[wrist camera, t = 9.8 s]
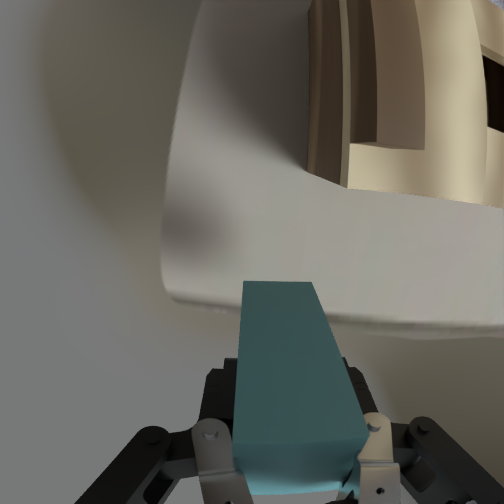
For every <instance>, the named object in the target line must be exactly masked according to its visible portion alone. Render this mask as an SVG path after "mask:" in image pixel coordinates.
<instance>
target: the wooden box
mask: <svg viewBox="0 0 504 504" xmlns="http://www.w3.org/2000/svg"><path fill="white" fill-rule="evenodd" d="M308 28H309V130H308V160H307V172H308V173H311V174H313V175H316V176H318V177H321V178H323V179H326V180H328V181H331V182H333V183H336V184H338V185H340V176H341V157H342V129H343V64H342V38H341V21H340V7H339V0H313V1H312V3H311V6H310V8H309V11H308ZM482 60H483V68H484V77H485V87H486V102H487V127H490V128H492V129H495V130H497V131H500V132H502V133H504V66H503V65H501V64H499V63H497V62H495V61H494V60H492V59H490V58H488V57H486V56H484V55H482Z"/></svg>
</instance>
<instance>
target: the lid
mask: <svg viewBox="0 0 504 504" xmlns="http://www.w3.org/2000/svg"><path fill="white" fill-rule="evenodd" d="M339 7H340V21H341V38H342V64H343V129H342V157H341V176H340V186H343V187H345V188H348V189H360V190H372V191H382V192H392V193H402V194H411V195H419V196H427V197H435V198H442V199H449V200H456V201H462V202H469V203H475V204H481V205H487V206H492V207H498V208H503V209H504V133H502V132H500V131H497V130H495V129H492V128H490V127H487V102H486V87H485V77H484V68H483V60H482V55H484V56H486V57H488V58H490V59H492V60H494V61H495V62H497V63H499V64H501V65H503V66H504V10H503V9H501V8H500V7H498V6H496V5H495V4H493V3H492V2H490V1H489V0H339Z"/></svg>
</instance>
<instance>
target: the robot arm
mask: <svg viewBox="0 0 504 504" xmlns="http://www.w3.org/2000/svg"><path fill="white" fill-rule="evenodd" d="M342 359H343V362H344V364H345V367H346V370H347V372H348V375H349V378H350V380H351V383H352V386H353V388H354V391H355V394H356V397H357V399H358V402H359V405H360V408H361V411H362V413H363V416H364V419H365V422H366V425H367V428H368V430H369V433H370V436H369V438H368V440H367V442H366V444H365V446H364V448H363V449H361V450H357V452H356V454H355V456H354V462H353V467H352V469H351V471H350V472H349V474H348V476H343V477H342V479H341V480H340V484H339V491H338V495H337V497H336V500H335V501H331V502H329V503H326V504H401V487H400V483H401V484H402V485H403V486H404V487H405V489H406V490H407V491H408V492H409V493H410V495H411V496H412V497H413V498H414V499H415V500H416V502H417V503H418V504H504V488H503V487H502V486H501V485H500V484H499V483H498V482H497V481H496V480H495V479H494V478H493V477H492V476H491V475H490V474H489V473H488V472H487V471H486V470H485V469H484V468H483V467H482V466H481V465H479V464H478V463H477V462H476V461H475V460H474V459H473V458H472V457H471V456H470V455H469V454H468V453H467V452H466V451H465V450H464V449H463V448H462V447H461V446H460V445H459V444H458V443H457V442H456V441H454V440H453V439H452V438H451V437H450V436H449V435H448V434H447V433H446V432H445V431H444V430H443V429H442V428H441V427H440V426H439V425H438V424H437V423H436V422H435V421H434V420H432V419H430V418H428V417H416V418H415V419H413V420H412V421H411V422H410V424H398V423H392V422H390V421H389V419H388V418H387V417H386V416H384V415H383V414H380V413H379V412H378V410H377V408H376V405H375V403H374V400H373V398H372V395H371V393H370V391H369V390H368V386H367V383H366V381H365V379H364V376H363V374H362V373H361V372H360V371H359V370H358V369H357V368H356V367H349V366H348V364H347V361H346V359H345V357H342ZM237 363H238V358H225V360H224V367H223V368H224V369H214V368H213V369H212V370H211V371H210V373H209V374H208V375H207V376H206V382H205V387H204V393H203V398H202V403H201V409H200V414H199V419H198V421H197V423H196V424H195V425H194V426H193V427H192V428H190V429H188V430H186V431H182V432H174V433H168V431H166V430H165V429H164V428H162V427H158V426H148V427H145V428H142V429H141V430H140V431H138V432H137V434H136V435H135V436H134V437H133V438H132V439H131V441H130V442H129V443H128V444H127V445H126V446H125V447H124V449H123V450H122V451H121V452H120V453H119V454H118V456H117V457H116V458H115V459H114V460H113V461H112V462H111V464H110V465H109V466H108V467H107V468H106V469H105V470H104V471H103V472H102V474H101V475H100V476H99V477H98V478H97V479H96V480H95V481H94V483H93V484H92V485H91V486H90V487H89V488H88V489H87V490H86V492H84V494H83V495H82V496H81V497H80V498H79V499H78V500H77V501H76V502H75V503H74V504H164V502H165V501H166V499H167V498H168V496H169V495H170V493H171V492H172V491H173V489H174V488H175V486H176V485H177V483H178V482H179V480H180V479H181V478H188V477H194V476H199V481H200V486H201V491H202V495H203V500H204V504H254V503H253V500H252V497H251V494H250V491H249V488H248V485H247V482H246V478H245V475H244V473H243V471H242V470H241V469H240V466H239V463H238V460H237V457H233V453H232V436H233V421H234V406H235V391H236V377H237ZM431 468H432V469H433V470H432V469H431Z"/></svg>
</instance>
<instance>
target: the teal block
mask: <svg viewBox="0 0 504 504" xmlns="http://www.w3.org/2000/svg"><path fill="white" fill-rule="evenodd" d="M369 436H370V433H369V430H368V428H367V425H366V422H365V419H364V416H363V413H362V411H361V408H360V405H359V402H358V399H357V397H356V394H355V391H354V388H353V386H352V383H351V380H350V378H349V375H348V372H347V370H346V367H345V364H344V362H343V359H342V357H341V354H340V352H339V349H338V346H337V344H336V341H335V339H334V336H333V333H332V331H331V328H330V326H329V323H328V321H327V318H326V316H325V313H324V311H323V309H322V306H321V304H320V301H319V299H318V296H317V294H316V291H315V289H314V287H313V284H312V282H277V281H243V293H242V307H241V321H240V336H239V348H238V363H237V377H236V391H235V406H234V421H233V436H232V453H233V457H237V460H238V463H239V466H240V469H241V470H242V471H243V473H244V475H245V478H246V482H247V485H248V488H249V491H250V494H251V495H274V494H275V495H276V494H295V493H308V492H318V491H327V490H334V489H339V484H340V480H341V479H342V477H343V476H348V474H349V472H350V471H351V469H352V467H353V462H354V456H355V454H356V452H357V450H361V449H363V448H364V446H365V444H366V442H367V440H368V438H369Z"/></svg>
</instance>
